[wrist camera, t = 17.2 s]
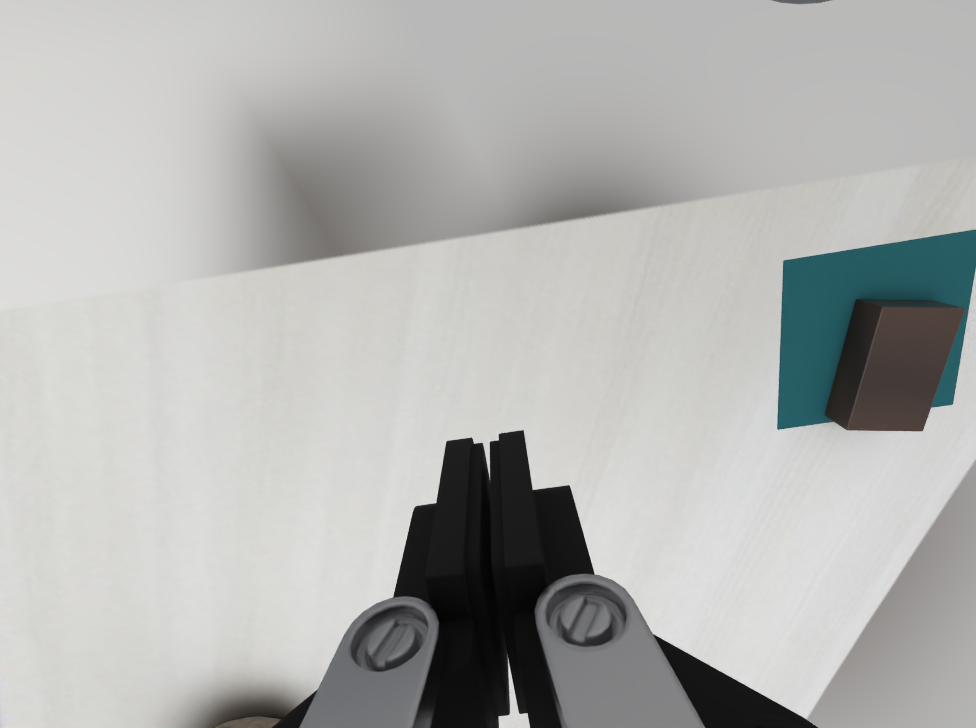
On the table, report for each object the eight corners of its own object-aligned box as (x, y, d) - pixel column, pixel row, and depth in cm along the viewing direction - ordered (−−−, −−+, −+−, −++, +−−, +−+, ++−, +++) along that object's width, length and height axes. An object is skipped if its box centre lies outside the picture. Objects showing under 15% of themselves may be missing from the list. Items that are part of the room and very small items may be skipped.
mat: (782, 260, 34) (784, 260, 33) (979, 228, 33) (982, 228, 33) (776, 428, 38) (777, 429, 38) (950, 403, 37) (952, 404, 37)
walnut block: (855, 298, 34) (882, 306, 32) (933, 299, 34) (966, 308, 32) (823, 415, 37) (846, 430, 35) (895, 416, 37) (923, 431, 35)
